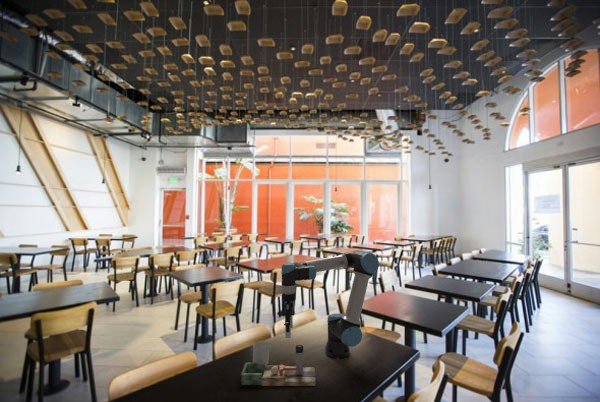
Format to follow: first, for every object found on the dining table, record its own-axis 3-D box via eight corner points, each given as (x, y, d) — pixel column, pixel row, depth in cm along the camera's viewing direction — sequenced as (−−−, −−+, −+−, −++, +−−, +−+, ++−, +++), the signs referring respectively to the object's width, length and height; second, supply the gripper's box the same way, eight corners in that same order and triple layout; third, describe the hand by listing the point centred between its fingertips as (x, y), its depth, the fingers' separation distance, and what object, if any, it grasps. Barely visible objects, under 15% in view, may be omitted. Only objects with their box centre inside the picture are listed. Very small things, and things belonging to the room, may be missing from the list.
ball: (278, 372, 154) (278, 364, 154) (278, 376, 150) (278, 368, 150) (271, 372, 154) (271, 364, 154) (270, 376, 150) (270, 368, 150)
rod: (303, 370, 154) (303, 344, 155) (303, 375, 149) (303, 348, 150) (280, 370, 154) (280, 344, 155) (279, 375, 149) (279, 348, 150)
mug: (269, 367, 163) (269, 347, 164) (253, 369, 161) (253, 348, 161) (266, 357, 174) (266, 338, 175) (251, 359, 172) (251, 340, 173)
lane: (314, 371, 158) (314, 361, 159) (315, 385, 144) (315, 375, 145) (246, 371, 159) (246, 361, 159) (240, 385, 145) (240, 375, 145)
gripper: (284, 287, 170) (284, 324, 169) (279, 298, 146) (279, 342, 144) (297, 287, 170) (297, 324, 169) (293, 298, 145) (294, 342, 144)
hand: (289, 332), depth 156 cm, fingers open, 13 cm apart
